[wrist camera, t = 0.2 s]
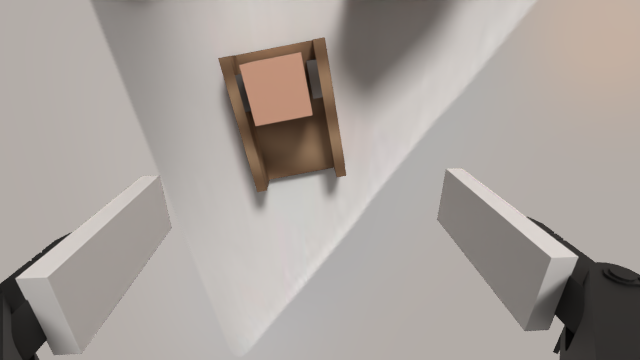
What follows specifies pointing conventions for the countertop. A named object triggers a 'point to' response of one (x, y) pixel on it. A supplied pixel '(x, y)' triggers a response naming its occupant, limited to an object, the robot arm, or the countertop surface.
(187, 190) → the countertop surface
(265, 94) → the block
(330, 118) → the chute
